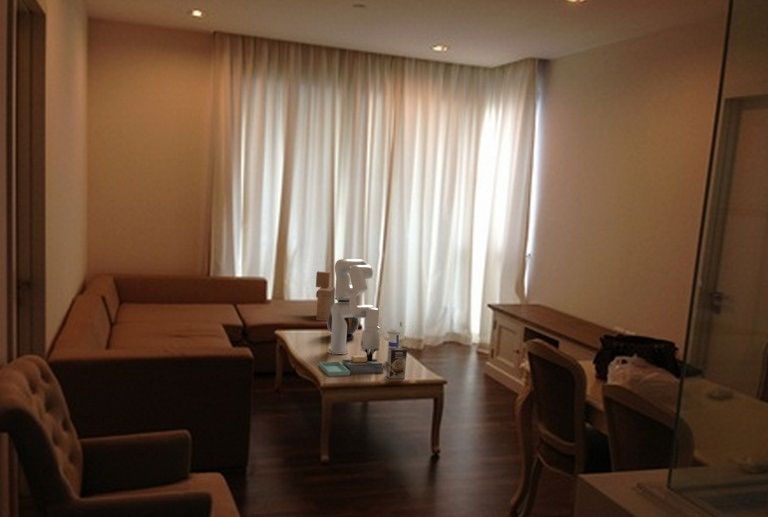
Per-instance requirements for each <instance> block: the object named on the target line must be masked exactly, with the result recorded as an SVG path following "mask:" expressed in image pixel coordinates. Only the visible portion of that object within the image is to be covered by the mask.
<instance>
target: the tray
mask: <svg viewBox="0 0 768 517" xmlns="http://www.w3.org/2000/svg"><path fill="white" fill-rule="evenodd" d="M318 367H319V368H320V369H321V370H322V372H324V373H325V375H326V376H328V377H347V376H348V377H349V376H351V374H350V371H349V370H348V369H347V368H346V367H345V366H344V365H342V362H340V361H318Z"/></svg>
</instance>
